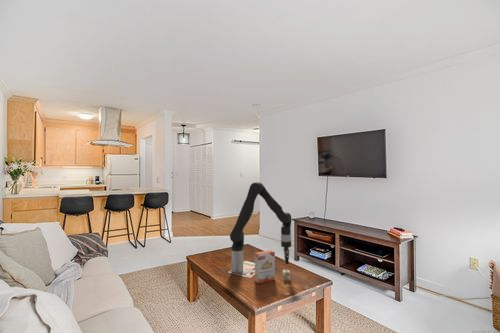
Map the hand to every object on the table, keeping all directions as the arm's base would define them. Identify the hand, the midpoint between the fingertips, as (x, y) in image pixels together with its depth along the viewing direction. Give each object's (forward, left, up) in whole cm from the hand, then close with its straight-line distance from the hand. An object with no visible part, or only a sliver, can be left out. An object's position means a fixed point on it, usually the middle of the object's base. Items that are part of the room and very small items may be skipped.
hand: (286, 261), depth 194 cm
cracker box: (-16, -3, -13) cm, 21 cm away
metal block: (0, 0, -13) cm, 13 cm away
